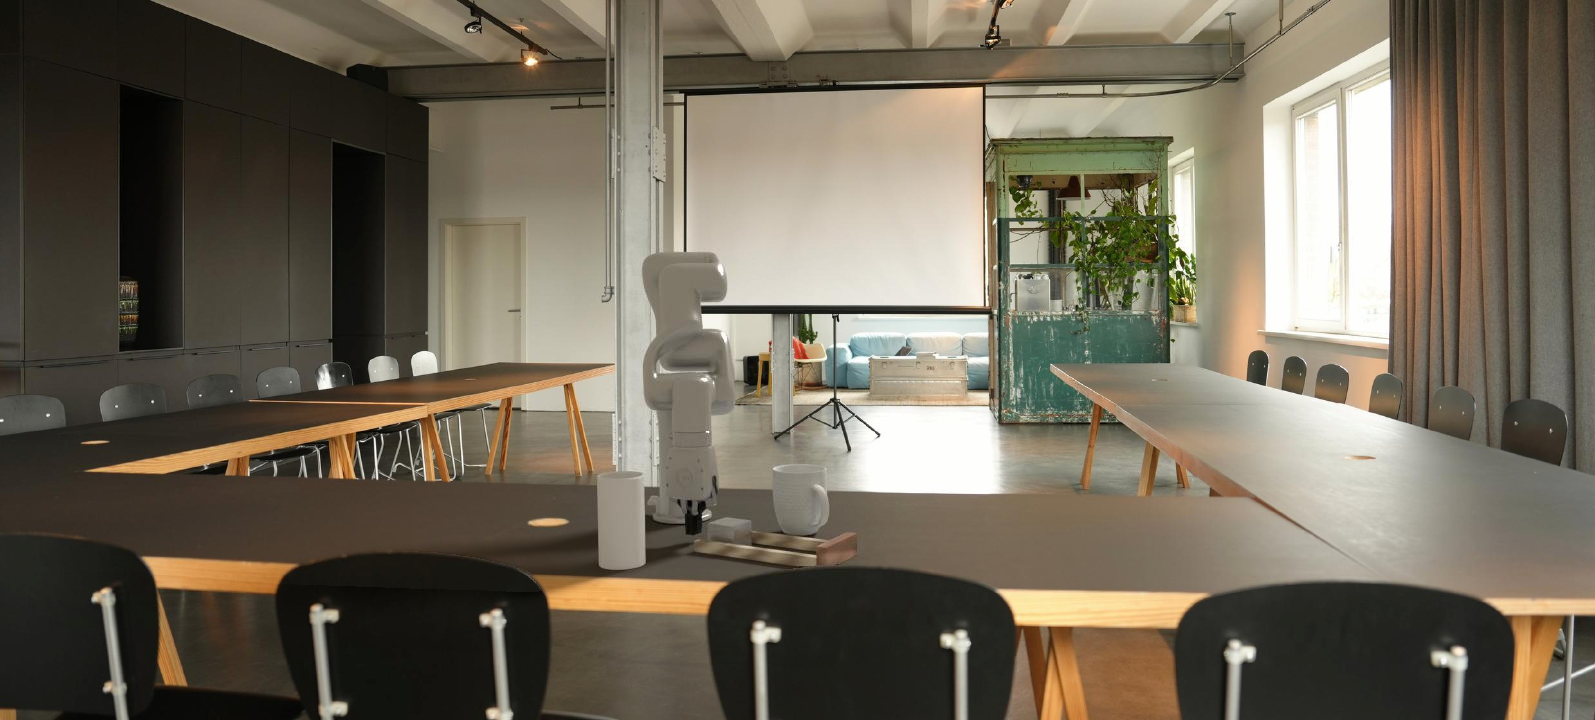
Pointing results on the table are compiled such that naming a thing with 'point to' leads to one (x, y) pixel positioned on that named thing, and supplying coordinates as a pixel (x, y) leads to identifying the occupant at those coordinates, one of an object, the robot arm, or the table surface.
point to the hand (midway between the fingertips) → (693, 533)
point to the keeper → (731, 531)
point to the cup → (621, 520)
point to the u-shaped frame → (825, 549)
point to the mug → (800, 498)
